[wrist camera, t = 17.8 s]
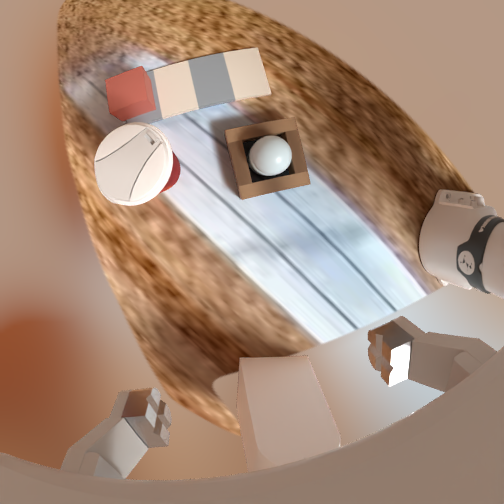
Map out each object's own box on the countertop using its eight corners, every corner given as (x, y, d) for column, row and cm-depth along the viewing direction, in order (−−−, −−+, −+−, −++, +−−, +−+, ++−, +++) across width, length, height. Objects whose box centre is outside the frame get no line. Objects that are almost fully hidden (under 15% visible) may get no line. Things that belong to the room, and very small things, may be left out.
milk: (296, 403, 46) (338, 515, 21) (236, 407, 45) (253, 530, 20) (307, 355, 43) (372, 478, 18) (239, 357, 42) (264, 501, 17)
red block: (150, 79, 30) (141, 65, 25) (156, 109, 31) (147, 98, 26) (117, 91, 30) (105, 80, 25) (122, 121, 31) (109, 113, 26)
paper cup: (162, 131, 33) (132, 102, 19) (200, 170, 35) (189, 159, 21) (122, 173, 33) (73, 168, 20) (159, 211, 35) (126, 226, 22)
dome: (278, 138, 34) (291, 128, 28) (287, 172, 35) (300, 169, 29) (243, 145, 34) (249, 136, 28) (252, 179, 35) (259, 178, 29)
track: (257, 49, 31) (257, 47, 31) (270, 94, 33) (271, 93, 33) (121, 83, 30) (120, 81, 29) (129, 130, 32) (128, 129, 31)
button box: (288, 122, 34) (294, 117, 32) (303, 184, 37) (310, 184, 34) (224, 134, 34) (225, 130, 31) (240, 198, 36) (242, 199, 33)
